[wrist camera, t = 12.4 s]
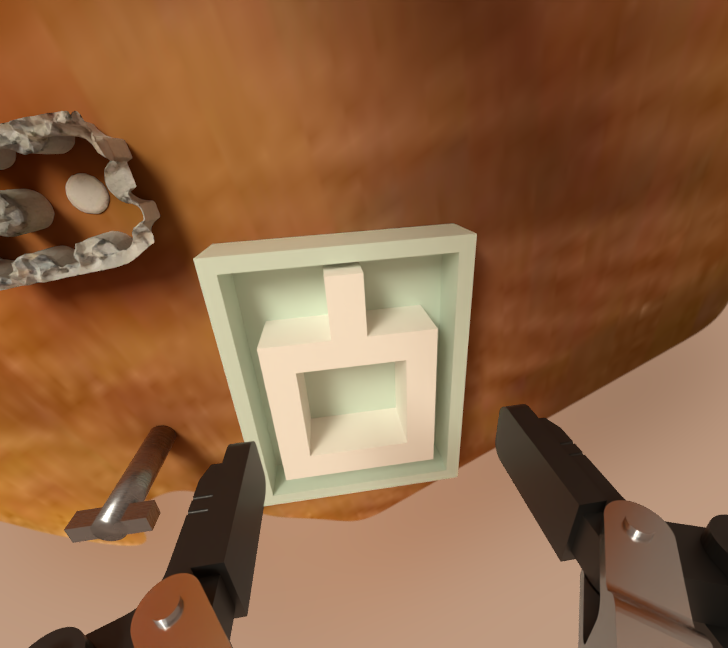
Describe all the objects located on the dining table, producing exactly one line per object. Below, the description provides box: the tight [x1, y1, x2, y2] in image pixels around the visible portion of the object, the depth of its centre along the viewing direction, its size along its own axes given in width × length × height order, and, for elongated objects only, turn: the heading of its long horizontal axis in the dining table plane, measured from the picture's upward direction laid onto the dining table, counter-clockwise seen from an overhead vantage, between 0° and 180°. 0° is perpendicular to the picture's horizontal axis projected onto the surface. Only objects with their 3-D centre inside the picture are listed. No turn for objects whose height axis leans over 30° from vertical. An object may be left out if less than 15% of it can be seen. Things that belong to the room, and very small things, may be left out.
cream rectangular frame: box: [257, 262, 438, 480], centre depth 24 cm, size 15×11×4 cm
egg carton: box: [0, 111, 160, 290], centre depth 19 cm, size 11×8×4 cm
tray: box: [193, 223, 477, 506], centre depth 25 cm, size 20×16×4 cm
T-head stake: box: [64, 426, 176, 542], centre depth 24 cm, size 2×5×8 cm, turn 93°
